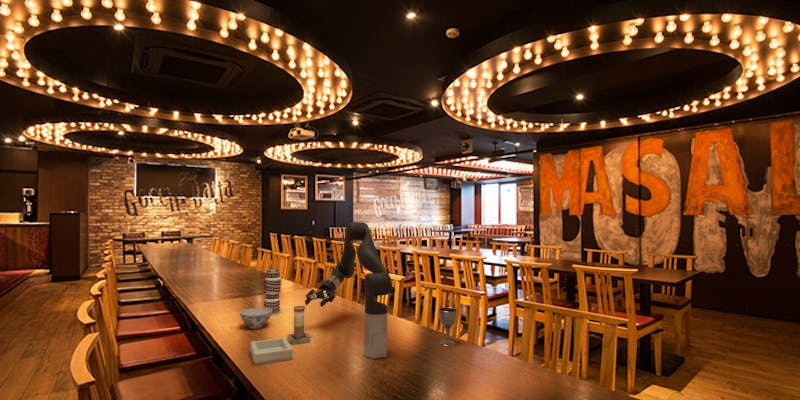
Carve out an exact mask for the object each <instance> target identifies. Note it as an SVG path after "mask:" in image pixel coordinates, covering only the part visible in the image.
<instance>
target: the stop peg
mask: <svg viewBox="0 0 800 400" xmlns="http://www.w3.org/2000/svg"><path fill="white" fill-rule="evenodd" d="M305 310H306V306H305V305H296V306H294V307H293V311H294V313H293V315H294V317H293V334H294V339H297V338H304V332H305Z"/></svg>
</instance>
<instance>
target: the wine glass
mask: <svg viewBox="0 0 800 400" xmlns="http://www.w3.org/2000/svg"><path fill="white" fill-rule="evenodd" d="M457 311H458V310H457V309H456V308H455V307H446V306H445V307H439V309H438V317H439V321H440V323H441V324H442V326H443V327H444V329H445V331H446V340H445V339H444V340H441V341H439V345H442V346H449V347H451V346H455V345H456V342H455V341H453V340H449V335H450V329H451V328H452V327H453V326H454V325H455V323H456V320H457V316H458V315H457V314H458V313H457Z"/></svg>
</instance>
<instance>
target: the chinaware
mask: <svg viewBox="0 0 800 400" xmlns="http://www.w3.org/2000/svg"><path fill="white" fill-rule="evenodd" d="M271 313H272V310H271V309H269V308H264V307H253V308H247V309H243V310H241V311H240V313H239V314H240V317H241V320H242V321H243V323H244V324H245V325H246V326H248V328H249V329H253V330H254V329H255V330H256V329H261V328H263V327H264V325H265V324H266V323H267V322H268V321H269V320H270V318H271V317H272V316H271Z"/></svg>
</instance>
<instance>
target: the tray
mask: <svg viewBox="0 0 800 400" xmlns="http://www.w3.org/2000/svg"><path fill="white" fill-rule="evenodd" d="M293 351H294V350H293V348H292V346H291V344H289V342H288V341H287V337H280V338H278V337H277V338H272V339H270V338H269V339H264V340H255V341H250V355H251V358H252V362H253V365H254V366H259V365H260V366H261V365H267V364H271V363H272V364H273V363H280V362H287V361H293V357H294V356H293V354H294V353H293Z"/></svg>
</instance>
